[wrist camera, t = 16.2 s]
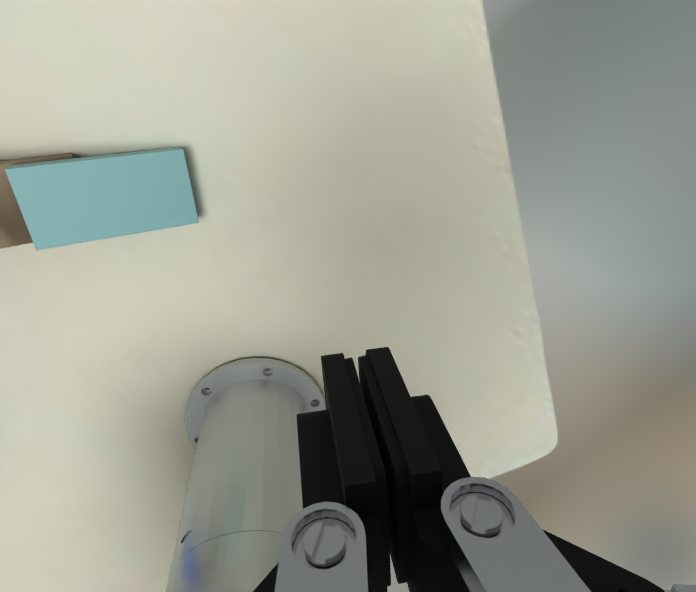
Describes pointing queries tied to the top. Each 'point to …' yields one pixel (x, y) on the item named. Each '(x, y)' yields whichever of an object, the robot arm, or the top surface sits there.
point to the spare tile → (103, 196)
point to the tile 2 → (16, 204)
